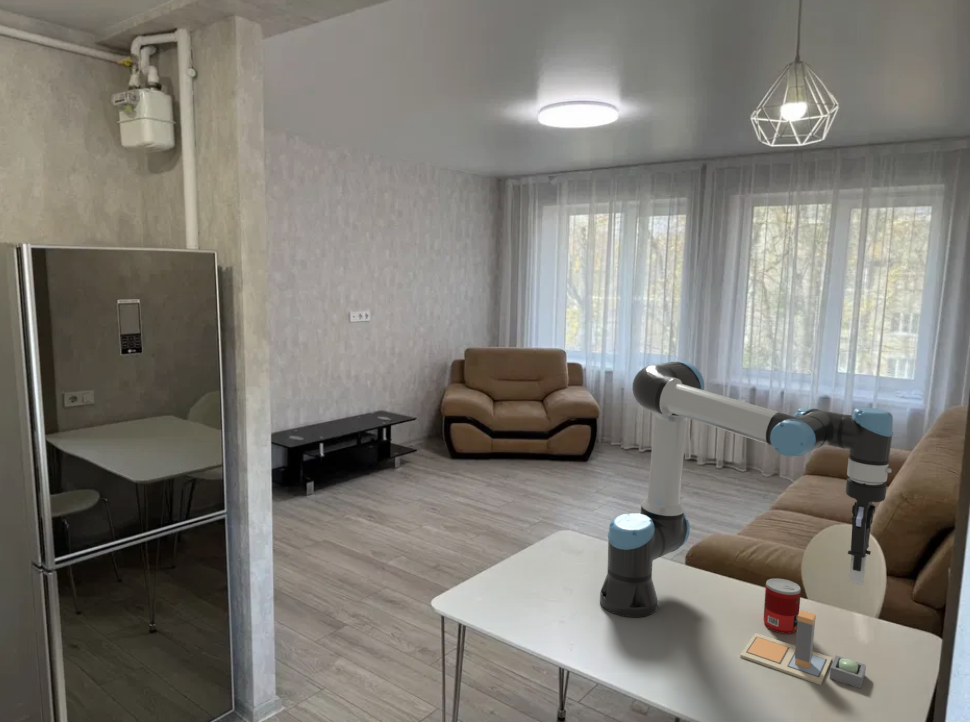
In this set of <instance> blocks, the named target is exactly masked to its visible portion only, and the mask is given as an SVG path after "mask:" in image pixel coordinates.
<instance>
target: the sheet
mask: <svg viewBox="0 0 970 722" xmlns="http://www.w3.org/2000/svg"><path fill="white" fill-rule="evenodd" d="M750 638H751V639H750V640H749V641H748V643H747V645H746V646H745V647H744V648H743V650H742V652H741V653H740V654H739V655H740V656H739V657H740V658H742V659H745V660H748V661H751V662H754V663H757V664H760V665H762V666H764V667H765V666H766V667H768V668H771V669H774V670H777V671H780V672H782V673H784V674H788V675H791V676H794V677H796V678H800V679H802V680H805V681H808V682H811V683H813V684H817V685H820V686H821V685H822V684H823V681H824V679H825V677H826V674H827V672H828V669H829V668H830V666H831V664H832V663H831V662H833V657H832V656H828V655H826V654H822V653H820V652H815V651H813V653H812V659H811V664H810V666H809V669H808V668H805V667H802V666H799V665H796V664H795V649H796V644H792V643H788V642H785V641H781V640H778V639H775V638H772V637H769V636H766V635H763V634H761V633H756V632H755V633H754V634H753V635H752V637H750Z"/></svg>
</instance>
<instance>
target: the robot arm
mask: <svg viewBox="0 0 970 722" xmlns="http://www.w3.org/2000/svg"><path fill="white" fill-rule="evenodd" d="M632 393H633V397H634V398H635V401H636V402H637V403H638V404H639V405H640V406H642V408H644V409H646V410H649V411H650V412H651V413H652V415H653V416H654V421H653V430H652V433H653V434H652V442H651V443H652V444H651V455H650V467H649V476H648V477H649V478H648V487H647V488H648V489H647V498H645V499H644V500H643V501H642V502H641V504H640V505H641V506H640V513H639V512H638V513H636V512H629V513H622V514H619V515H617V516H615V517H614V518H613V519H612V520H611V521H610V523H609V528H608V534H607V539H608V546H607V547H608V549H607V572H606V576H605V579H604V581H603V584H602V585H601V586H602V587H601V588H600V592H599V603H600V605H601V606H602V607H603V608H604V609H605V610H607V611H608V612H610V613H613V614H614V615H617V616H622V617H626V618H642V617H643V618H644V617H647V616H651V615H652V614H654V613H655V612H656V611H657V609H658V596H657V593H656V588H655V585H654V582H653V579H652V577H653V561H655V560H657V559H659V558H661V557H664V556H665V555H668V554H669V553H673V552H675V551H678V550H679V548H681V547H682V546H684V545H685V544H686V542H687V541H688V539H689V536H690V532H691V529H690V528H691V525H690V521H689V519H687V516H686V515H687V514H685V508H684V506H683V505H682V504H681V503H680V497H681V486H682V476H683V469H684V468H683V466H684V459H685V458H684V457H685V456H684V455H685V447H686V437H687V436H686V435H687V427H688V420H691V421H695V422H699V423H701V424H704V425H708V426H710V427H714V428H716V429H720V430H723V431H726V432H730V433H732V434H736V435H738V436H742V437H744V438H748V439H751V440H754V441H757V442H760V443H764V444H766V445H769V446H772V448H773V449H774V450H775V451H776V452H777V453H778V454H780V455H782V456H784V457H791V458H792V457H801V456H803V455H806V454H807V453H809V452H811V451H814V450H816V449H819V448H821V447H824V446H828V447H835V448H840V449H844V450H849V451H848V452H849V455H848V458H847V459H848V460H847V461H848V462H847V471H846V474H847V476H848V478H846V482H845V483H846V484H845V494H846V495H847V496H848V497H849V498H852V499H855V501H854V504H852V508H851V512H852V517H851V538H850V539H851V541H850V549H848V551H847V555H850V565H849V575H848V576H849V577H848V583H852V584H855V585H860V586H863V585H864V583H865V573H866V564H867V555H869V556H871V552H872V551H871V550H868V549H869V547H870V545H869V543H870V537H871V528H872V523H873V520H874V515H875V512H876V505H875V504H873V503H880V502H883V501H885V500H886V493H887V484H886V482H887V481H888V474H889V473H890V474H891V473H892V471H893V470H892V468H890V467H889V463H890V456H891V455H890V454H891V448H892V440H893V436H894V435H893V434H894V432H893V426H894V425H893V422H894V417H893V414H892V413H891V412H889V411H888V410H885V409H881V408H876V407H875V408H874V407H863V406H862V407H856V408H855V409H854V410H853V413H852V414H844V413H839V412H832V411H827V410H823V409H822V410H821V409H818V408H808V407H807V408H806V407H802V408H801V407H800V408H798V410H796V413H794V415H790V414H786V413H782V412H780V411H777V410H773V409H770V408H767V407H763V406H760V405H756V404H752V403H749V402H746V401H742V400H738V399H735V398H731V397H728V396H725V395H721V394H719V393H714V392H711V391H707V390H705V381H704V378H703V374H702V373H701V372H700V371H699V369H698V368H697V367H696V366H695V365H693V363H690V362H687V361H669V362H665V363H664V362H663V363H659V364H652V365H651V364H650V365H647V366H644V367H643V368H641V369H640V370H639V371H638V372H637V373H636V375H635V376H634V378H633V381H632Z"/></svg>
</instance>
